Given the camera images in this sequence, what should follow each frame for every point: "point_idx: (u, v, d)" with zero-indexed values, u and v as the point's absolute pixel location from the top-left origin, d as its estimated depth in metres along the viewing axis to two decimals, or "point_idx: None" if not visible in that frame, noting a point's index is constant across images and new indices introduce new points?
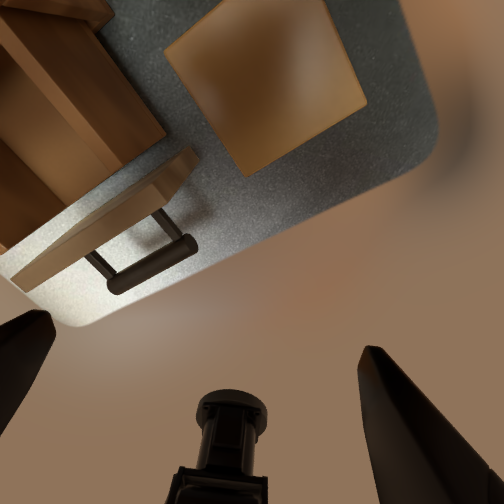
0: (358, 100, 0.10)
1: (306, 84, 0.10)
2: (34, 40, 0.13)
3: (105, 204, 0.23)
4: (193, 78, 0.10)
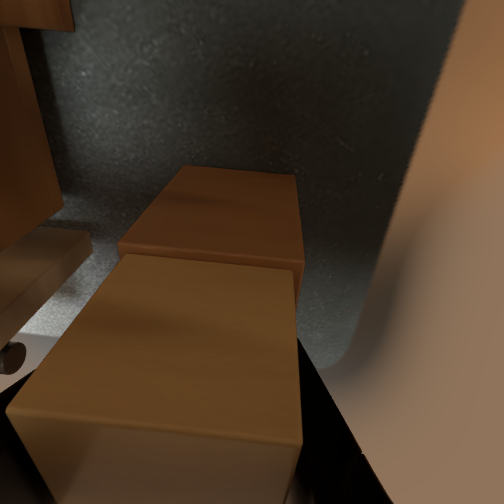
0: None
1: None
2: None
3: None
4: (44, 451, 0.05)
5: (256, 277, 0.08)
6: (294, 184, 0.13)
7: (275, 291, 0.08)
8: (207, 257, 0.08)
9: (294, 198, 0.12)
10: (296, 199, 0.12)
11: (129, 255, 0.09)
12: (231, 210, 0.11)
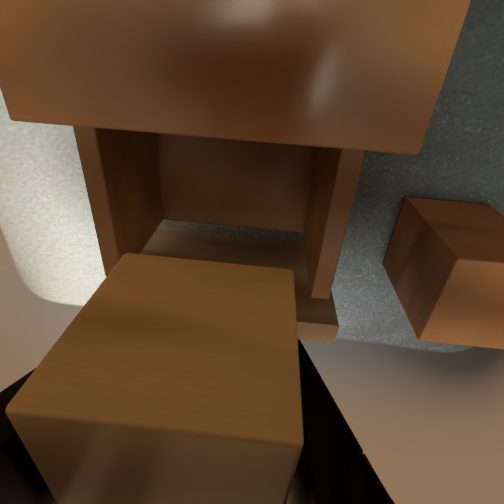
0: None
1: None
2: None
3: (205, 241, 0.20)
4: (44, 450, 0.05)
5: (256, 276, 0.08)
6: (498, 212, 0.18)
7: (275, 290, 0.08)
8: None
9: None
10: None
11: (129, 254, 0.09)
12: (489, 234, 0.16)
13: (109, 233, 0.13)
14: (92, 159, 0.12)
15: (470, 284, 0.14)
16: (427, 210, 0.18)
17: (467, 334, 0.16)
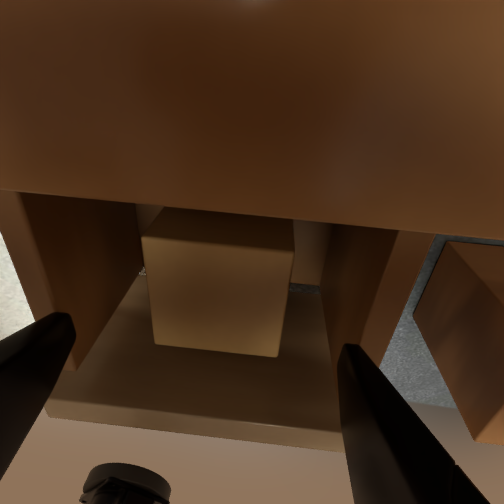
0: (272, 353, 0.11)
1: (243, 324, 0.11)
2: None
3: None
4: (155, 268, 0.10)
5: None
6: None
7: None
8: None
9: None
10: None
11: None
12: None
13: None
14: (15, 225, 0.08)
15: None
16: (480, 263, 0.14)
17: None
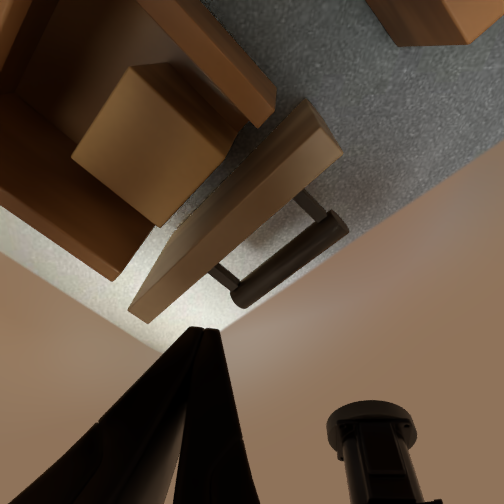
0: (217, 157, 0.13)
1: (174, 155, 0.13)
2: None
3: (207, 200, 0.19)
4: (96, 169, 0.13)
5: None
6: None
7: None
8: None
9: None
10: None
11: None
12: None
13: (71, 242, 0.13)
14: None
15: None
16: None
17: None
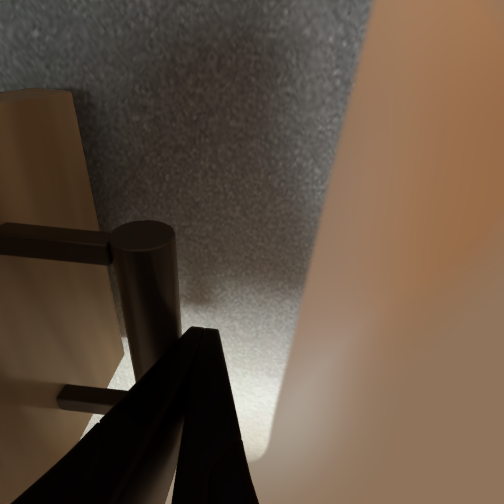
0: None
1: None
2: None
3: None
4: None
5: None
6: None
7: None
8: None
9: None
10: None
11: None
12: None
13: None
14: None
15: None
16: None
17: None
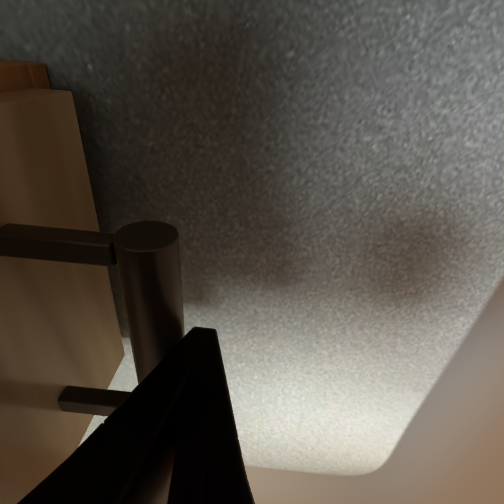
0: None
1: None
2: None
3: None
4: None
5: None
6: None
7: None
8: None
9: None
10: None
11: None
12: None
13: None
14: None
15: None
16: None
17: None
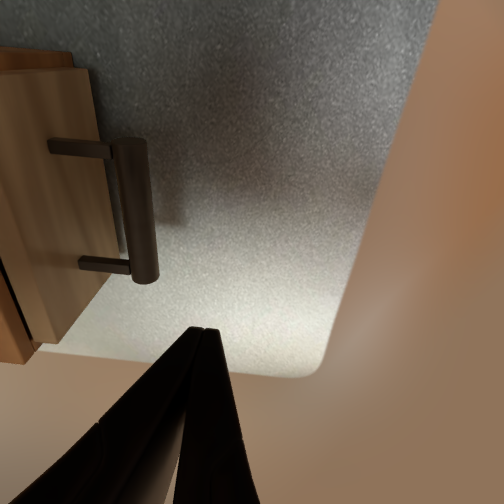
0: None
1: None
2: None
3: None
4: None
5: None
6: None
7: None
8: None
9: None
10: None
11: None
12: None
13: None
14: None
15: None
16: None
17: None
